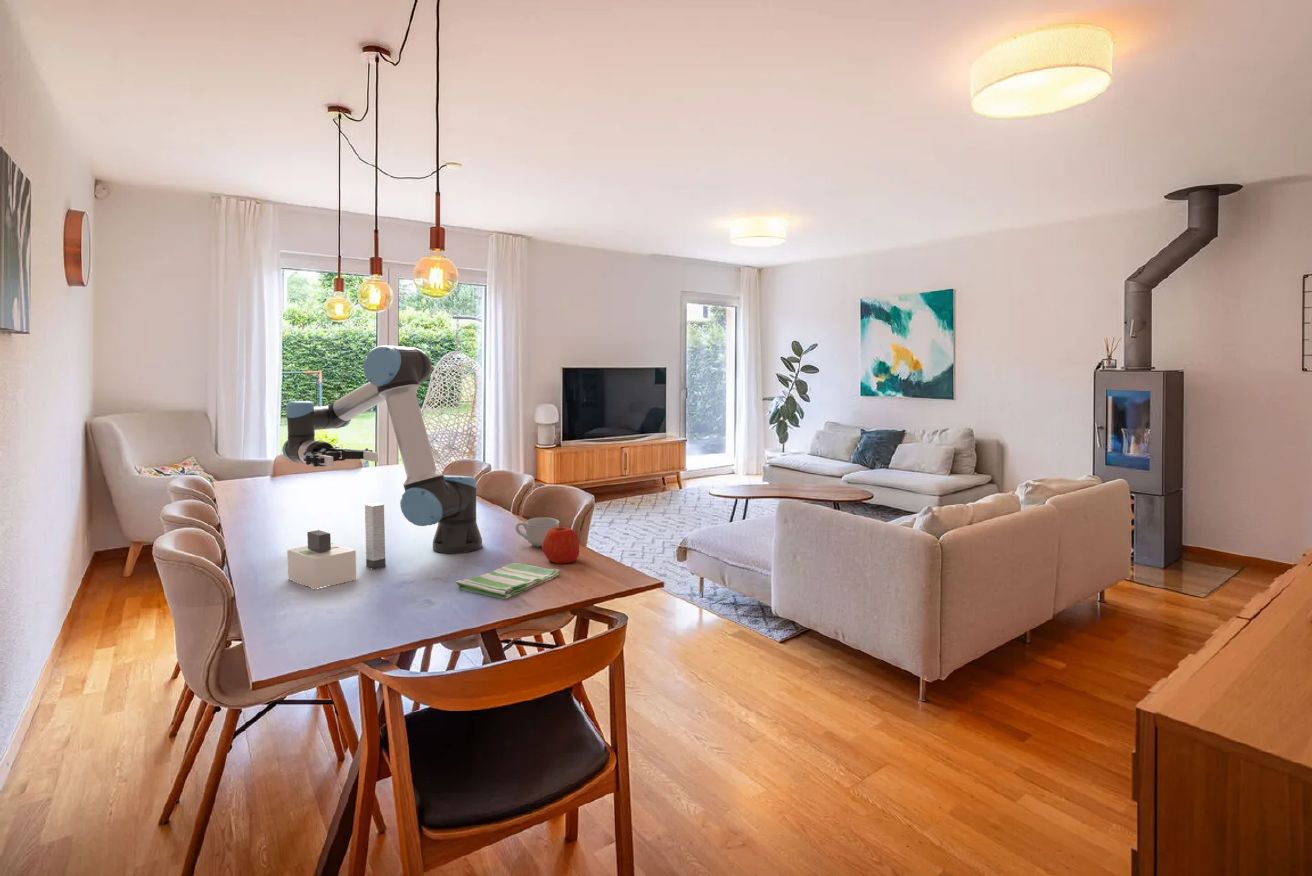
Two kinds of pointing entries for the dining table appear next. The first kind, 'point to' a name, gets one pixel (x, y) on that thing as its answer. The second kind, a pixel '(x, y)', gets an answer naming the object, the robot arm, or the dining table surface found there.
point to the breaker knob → (319, 541)
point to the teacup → (537, 529)
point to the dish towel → (508, 580)
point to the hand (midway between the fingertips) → (355, 459)
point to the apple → (561, 545)
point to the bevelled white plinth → (322, 566)
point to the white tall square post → (375, 535)
